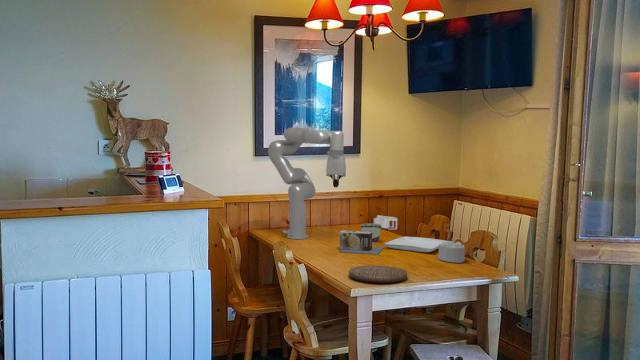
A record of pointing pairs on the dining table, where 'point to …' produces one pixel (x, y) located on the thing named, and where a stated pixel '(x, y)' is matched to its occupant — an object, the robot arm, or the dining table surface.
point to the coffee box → (356, 240)
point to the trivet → (378, 274)
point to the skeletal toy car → (385, 221)
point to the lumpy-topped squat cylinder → (452, 252)
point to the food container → (374, 229)
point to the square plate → (415, 244)
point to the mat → (373, 251)
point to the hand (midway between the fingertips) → (335, 187)
